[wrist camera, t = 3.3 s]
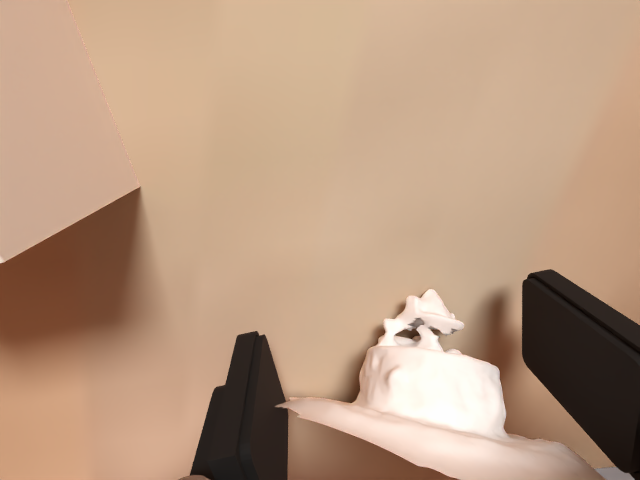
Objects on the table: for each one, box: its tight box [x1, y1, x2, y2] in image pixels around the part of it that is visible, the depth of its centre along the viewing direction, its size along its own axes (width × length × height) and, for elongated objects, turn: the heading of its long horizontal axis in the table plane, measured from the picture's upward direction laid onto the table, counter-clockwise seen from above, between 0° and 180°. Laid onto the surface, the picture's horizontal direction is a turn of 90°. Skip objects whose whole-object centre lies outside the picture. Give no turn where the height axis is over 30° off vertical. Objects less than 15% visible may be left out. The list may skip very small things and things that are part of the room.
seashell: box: [275, 289, 606, 480], centre depth 10 cm, size 8×5×8 cm
